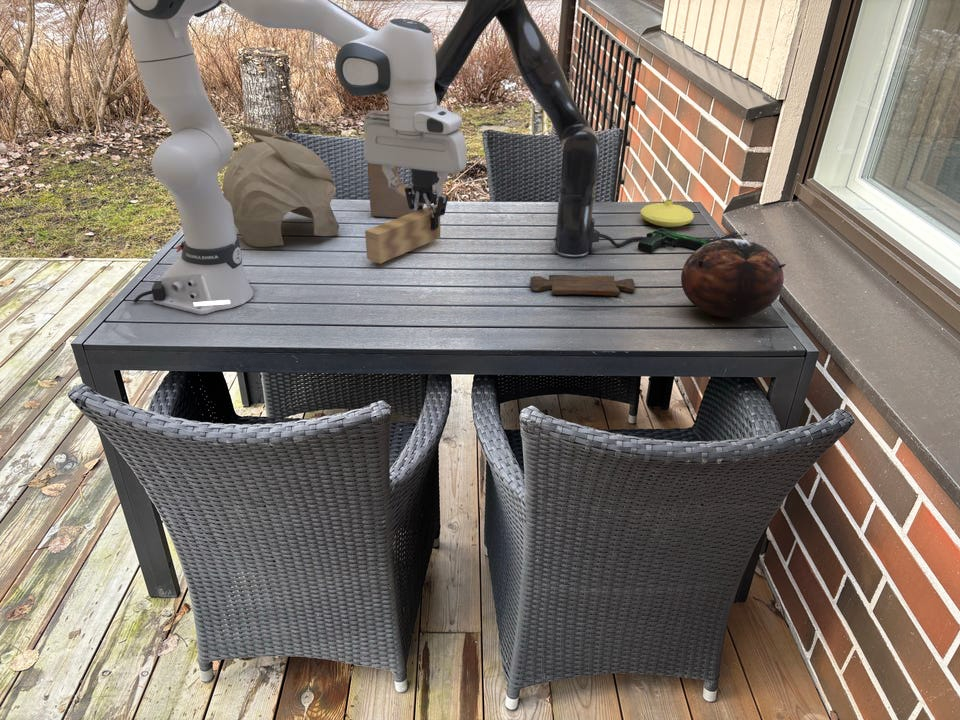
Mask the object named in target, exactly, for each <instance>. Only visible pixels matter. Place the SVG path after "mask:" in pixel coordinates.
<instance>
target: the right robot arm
mask: <svg viewBox="0 0 960 720" xmlns="http://www.w3.org/2000/svg"><path fill="white" fill-rule="evenodd" d="M495 18H496V20H497V22H498V24H499V25H500V26H501V28H502V30H503V32H504V35H505V37H506V40H507V43H508V46H509V50H510V53H511V55H512V59H513V61H514V64H515V66H516V68H517V70H518V72H519V74H520V77H521V78H522V80H523V81H524V84H525V86H526V87H527V89H528V91H529V92H530V94H531V95H532V97H533V98H534V100H535V101H536V103H538V105H539V106H540V108H542V110H543V111H544V113H545V114H546V115H547V116H548V118H549V120H550V122H551V124H552V126H553V129H554V130H555V133H556V135H557V138H558V140H559V142H560V147H561V150H562V157H561V159H562V160H561V169H560V170H561V171H560V178H559V185H558V186H559V187H558V196H557V197H558V200H557V213H556V226H555V236H554V239H553V243H554V249H553V251H554V253H555V254H557V255H559V256H560V257H564V258H565V257H566V258H571V259H572V258H573V259H574V258H582V257H586V256H587V255H589V254H592V251H593V243H599V242H600V238H602V239H604V240H607V241H609V242H610V243H611V245H612V246H614V247H616V248H621V247H625V246H626V245H628V244H629V243H630V242H633V241H640V240H642V239H645V238H648V237H646V236H634V237H632V236H631V237H629V238H627V239H625V240H624V241H623V242H621V243H618V242H616V241H615V240H614V239H613V237H611V236H610V235H606V234H603V233H601V232H600V231H599V230H597V229H595V222H596V221H595V218H593V211H594V210H593V209H594V201H595V199H594V198H595V188H596V184H597V180H598V174H599V173H598V172H599V164H600V153H601V145H600V140H599V139H598V137H597V133H596V132H595V131H594V129H593V128H592V127H591V125H590V124H589V123H588V121H587V120H586V119H585V117H584V116H583V113H582V112H581V111H580V109H579V107H578V106H577V104H576V102H575V100H574V97H573V95H572V92H571V91H572V90H571V88H570V86H569V83H568V80H567V78H566V76H565V72H564V71H563V69H562V67H561V64H560V63H559V61H558V59H557V57H556V54H555V53H554V51H553V49H552V47H551V46H550V44H549V42H548V40H547V39H546V37H545V35H544V34H543V32H542V31H541V29H540V28H539V26H538V25H537V23H536V21H535V20H534V18H533V16H532V14H531V12H530V11H529V8H528V6H527V4H526V1H525V0H467V1H466V4H465V6H464V7H463V10H462V13H461V14H460V15H459V18H458V19H457V21H456V22H455V24H454V25H453V27H452V28H451V30H450V31H449V33H448V34H447V35H446V37H445V39H443V41H442V43H441V44H440V46H439V47H438V49H437V51H435V56H436V79H435V84H434V89H435V94H436V97H437V105H438V106H440V104H441V103H442V102H443V99H444V97H445V96H446V94H447V92H448V90H449V88H450V86H451V85H452V83H453V82H454V80H455V79H456V78H457V76H458V75H459V73H460V72H461V70H462V68H463V67H464V65H465V63H466V62H467V60H468V58H469V56H470V54H471V53H472V51H473V49H474V47H475V46H476V44H477V42H478V40H479V38H480V37H481V36H482V34H483V33H484V31H485V30H486V28H487V27H488V26H489V25H490V24H491V22H492V21H493V20H494V19H495ZM410 173H411V174H410V175H411V177H410V178H411V179H410V180H411V184H412V185H410V186H407V187H406V188H405V193H406V198H407V202H408V206H409V209H412V210H414V212H415V211H418V210H420V209H423V208H424V206H425V205H426V207H427V209H428V210H429V212H430V215H431V218H430V221H431V230H433V231H434V230H436V229H437V228H438V227H439V223H438V222H439V219H438V217H439V216H440V217H441V216H445V213H446V209H447V205H448V201H449V196H448V195H447V194H443V193H442V194H440V195H438V194H433V192H432V191H433V189H432V185H434V184H435V183H438V181H439V179H440V177H437V172H435V171H427V170H420V169H412V168H410ZM412 201H413V204H412ZM433 209H434V210H433ZM434 211H435V212H434ZM725 235H726V236H724V237H721V238H718V239H715V238H716V237H713V238H705V239H704V238H703V239H704V240H708V243H711V242H714V241H718V240H724V239H729V238H731V237H734V236H736V235H737V234H736V233H735V231H733V232H730V233H727V234H725ZM710 239H713V240H710Z"/></svg>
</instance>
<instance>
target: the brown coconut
mask: <svg viewBox="0 0 960 720" xmlns="http://www.w3.org/2000/svg"><path fill="white" fill-rule="evenodd" d="M786 265H787V264H786V263H780V260H779V259H778V258H777V257H776V255H774V254H773V253H772V252H771V251H770V250H769V249H767V247H764V246H762V245H761V244H759V243H756V242H753V241H750V240H746V239H740V238H725V239H721V240H718V241H714V242H708V244H706V245H704V246H702V247H701V248H699V249H698V250H696V249H695V251H694V252H693V253H691V255H689V257H688V258H687V259H686V261H685V263H684V265H683V267H682V270H681V273H680V276H681V277H680V282H681V287H682V289H683V293H684V294H685V296H686V297H687V299H688V300H689V301H690V303H692V305H693V306H695V307H696V308H698V309H699V310H700V311H702V312H704V313H705V314H706V313H707V314H708V315H711V316H715V317H718V318H726V319H739V318H741V319H742V318H746V317H750V316H753V315H756V314H758V313H761V312H762V311H764V310H766V309H767V308H769V307H770V306H771V305H772V304H773V303H775V301H776V300H777V299H778V297H779V296H780V294H781V292H782V289H783V287H784V279H785V278H784V270H783V268H784V267H785V266H786Z"/></svg>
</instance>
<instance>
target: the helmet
mask: <svg viewBox="0 0 960 720" xmlns="http://www.w3.org/2000/svg"><path fill="white" fill-rule="evenodd" d="M238 128H239V129H242V130H244V131H245V132H246V133H247V134H248V135H249V136H250V137H251V138H252V140H254V143H250V144H246V145H245V146H243V147H242V148H241V149H239V150H238V151H237V152H236V153H234V154H233V155H232V156H231V158H230V160H229V162H228V166H227V167H226V169H225V171H224V175H223V179H222V193H223V195H224V197H225V199H226V200H227V201H229V202H230V204H231V206H232V211H233V217H234V223H235V229H236V230H237V231H238V232H239V234H240V236H241V238H242V239H243V241H244V242H245V244H247V245H248V246H251V247H255V248H257V247H258V248H268V247H278V246H284V245H285V244H284V240H283V237H282V222H283V220H284V217H285V216H287V214H288V213H293V214H295V215H298V216H302V217H305V218H309V219H312V221H313V222H312V223H313V235H314V236H322V237H327V236H338V235H339V231H340V224H339V222H338V221H337V219H336V216H335V214H334V212H333V208H332V206H331V202H332V201H333V199H334V197H335V196H336V193H337V187H336V185H335V182H334V178H333V174H332V171H331V169H330V168H329V167H328V166H327V164H326V163H325V162H324V161H323V159H322V158H321V157H320V156H319V155H318V154H317V153H316V152H315V151H313V150H312V149H311V148H308V147H306V146H305V145H303V144H300V143H299V142H298V141H296V140H294V139H292V138H290V137H287V136H283V135H279V134H277V133H275V132H272V131H270V130H268V129H263V128H260V127H255V126H250V125H249V126H248V125H239V126H238Z"/></svg>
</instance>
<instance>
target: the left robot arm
mask: <svg viewBox="0 0 960 720" xmlns="http://www.w3.org/2000/svg"><path fill="white" fill-rule="evenodd" d="M127 1H128V4H127V6H126V8H125V14H126V24H127V29H128V36H129V40H130V44H131V49H132V52H133V55H134V59H135V61H136V66H137V68H138V71H139V74H140V78H141V80H142V83H143V86H144V90H145V92H146V96H147V98H148V101H149V103H150V104H151V105H152V106H153V108H155V109H157V111H159V113H160V114H161V116H162V117H163V119H164V120H165V122H166V124H167V126H168V128H169V129H170V134H171V135H170V136H167V138H164V139H163V140H162V141H161V142H160V144H159V145H158V147H157V148H156V150H155V151H154V153H153V156H152V159H151V169H152V172H153V175H154V176H155V178H156V180H157V181H158V182H159V183H160V184H161V185H162V186H163V187H164V188H166V189H167V190H168V191H169V194H170V196H171V198H172V200H173V201H174V205H175V206H176V208H177V212H178V215H179V219H180V223H181V224H180V225H181V228H182V233H183V237H184V240H183V241H182V242H181V243H180V244H179V245H177V246H176V247H175V249H177V250H176V251H175V252H176V253H179V252H180V251H181V256H180V257H179V258H178V259H176V260H175V261H174V262H173V263H172V264H171V265H170V266H169V267H168V268H166V270H165V271H164V272H163V274H162V276H161V281H160V280H159V281H154V282H153V285H152V287H151V288H150V289H151V290H147V291H144V292H142V293H140V294H138V295H137V296H135V298H134V299H133V303H134V304H136V303H137V302H139V301H140V300H141V298H143V297H147V296H149V295H152V297H153V299H152V300H153V303H154V304H156V305H160V306H164V307H169V308H172V309H175V310H180V311H184V312H187V313H188V312H189V313H193V314H197V315H207V314H210V313H213V312H217V311H223V310H229V309H232V308H235V307H239V306H242V305H243V304H245V303H247V302H249V301H250V300H251V299H253V297H254V294H255V292H254V290H253V288H252V286H251V284H250V282H249V279H248V277H247V275H246V270H245V268H244V265H243V253H242V252H243V251H242V247H241V241H240V237H239V236H238V235H237V228H236V226H235V223H234V217H233V211H232V206H231V204H230V202H229V201H227V200H226V199H225V197H224V195H223V190H222V189H221V185H220V183H219V172H220V171H221V170H223V169H224V168H225V167H227V165H229V163H230V160H231V158H232V157H233V153H234V148H235V145H234V144H235V142H234V138H233V136H232V133H231V131H230V130H229V129H228V128H227V127H226V126H225V125H223V124H222V122H221V121H220V119H219V116H218V114H217V113H216V111H215V108H214V106H213V105H212V103H211V101H210V98H209V96H208V94H207V91H206V88H205V85H204V82H203V78H202V76H201V75H202V74H201V72H200V69H199V64H198V62H197V57H196V55H195V51H194V48H193V44H192V41H191V39H190V35H189V27H188V26H189V23H190V20H191V18H192V17H196V18H201V17H203V16H204V15H206V14H208V13H210V12H212V11H213V10H215V9H217V8H218V7H220V6H221V5H222V4H223V3H224V4H225V5H226V6H228V7H229V8H231V9H232V10H233V11H234V12H236V13H237V14H239V15H240V16H242V17H243V18H245V19H247V20H248V21H251V22H253V23H255V24H257V25H258V26H261V27H264V28H268V29H286V30H288V29H291V30H299V31H300V30H301V31H307V32H310V33H313V34H316V35H319V36H321V37H323V38H324V39H326V40H328V41H329V42H331V43H332V44H334V45H336V46H337V47H339V50H338V52H337V53H336V57H335V61H334V70H335V74H336V78H337V79H338V82H339V84H340V85H341V87H342V88H343V89H344V90H345V91H346V92H347V93H349V94H351V95H352V96H356V97H371V96H374V95H379V94H384V95H386V96H387V103H388V111H389V114H377V113H370V115H368V116H366V118H364V119H363V130H364V141H363V156H364V157H363V158H364V160H365V161H366V163H367V162H368V163H372V164H380V165H382V171H383V172H384V174H385V176H386V177H387V179H388V186H389V188H398V187H399V178H397V177H395V176H394V174H393V171H392V168H393V166H396V167H398V168H405V169H411V168H412V169H420V170H427V171H435V172H437V177H440V179H439V181H438V183H435V184H434V185H432V189H433V191H432V192H433V194H438V195H440V194H442V195H443V193H444V184H445V182H446V180H447V179H448V177H449V174H451V175H458V174H460V173H461V172H462V171H463V170H464V169H465V168H466V167H467V163H468V161H467V159H468V158H467V155H468V154H467V146H466V145H467V144H466V143H467V142H466V139H465V135H464V133H463V132H462V130H460V128H461V127H462V126H463V118H462V116H460V115H459V114H457V113H455V112H453V111H450V110H448V109H446V108H444V107H442V106H441V105H439V106H438V105H437V97H436V94H435V89H434V84H435V79H436V56H435V54H436V46H435V40H434V35H433V32H432V30H431V28H429V26H428V25H426V24H424V22H421V21H418V20H414V19H410V18H402V17H401V18H393V19H390V20H389V21H388V22H386V24H384V26H382V27H381V28H378V27H374V26H372V25H370V24H368V23H366V22H365V21H363V20H362V19H360V18H359V17H357V16H356V15H354V14H352V13H351V12H349V11H347V10H346V9H345V8H343V7H341V6H340V5H338V4H337V3H335V2H333V1H332V0H127ZM369 117H370V118H369ZM368 163H367V164H368Z"/></svg>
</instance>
